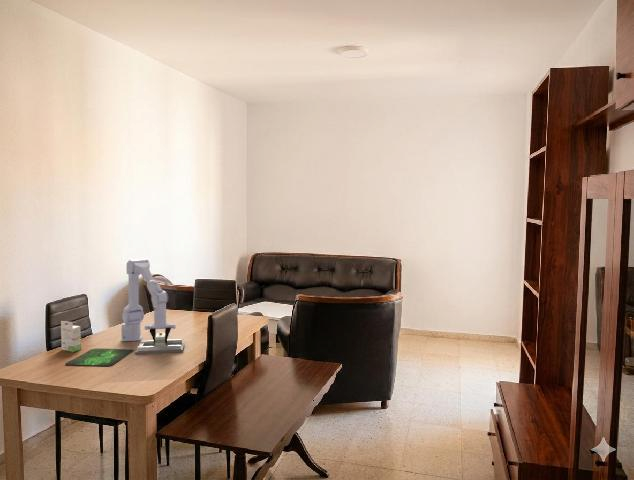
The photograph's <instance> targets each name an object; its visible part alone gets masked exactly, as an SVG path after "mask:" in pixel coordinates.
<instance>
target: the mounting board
mask: <svg viewBox="0 0 634 480" xmlns="http://www.w3.org/2000/svg"><path fill="white" fill-rule="evenodd" d="M167 345H181V349H179V350H158V351H138V347H139V346H140V344H138V346H137V348H136V349H135V355H151V354H154V355H155V354H169V353H170V354H172V353H184V347H185V342H182V344H166V346H167ZM145 346H155V345H144V346H143V347H145Z"/></svg>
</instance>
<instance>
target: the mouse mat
mask: <svg viewBox="0 0 634 480" xmlns="http://www.w3.org/2000/svg"><path fill="white" fill-rule="evenodd" d="M134 351H135V349H133V348H132V349H130V348H128V349H127V348H91V349H90V350H88V351H86V352H84V353H82V354H81V355H78V356H77V357H75V358H73V359H71V360H69V361H66V363H65V365H66V366H70V365H77V367H78V366H79V367H81V366H82V367H111V366H114V365H115V364H117V363H118V362H120V361H121V360H123V359H124V358H126V357H127V356H129V355H131V353H133V352H134ZM110 352H111V353H110Z"/></svg>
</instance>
